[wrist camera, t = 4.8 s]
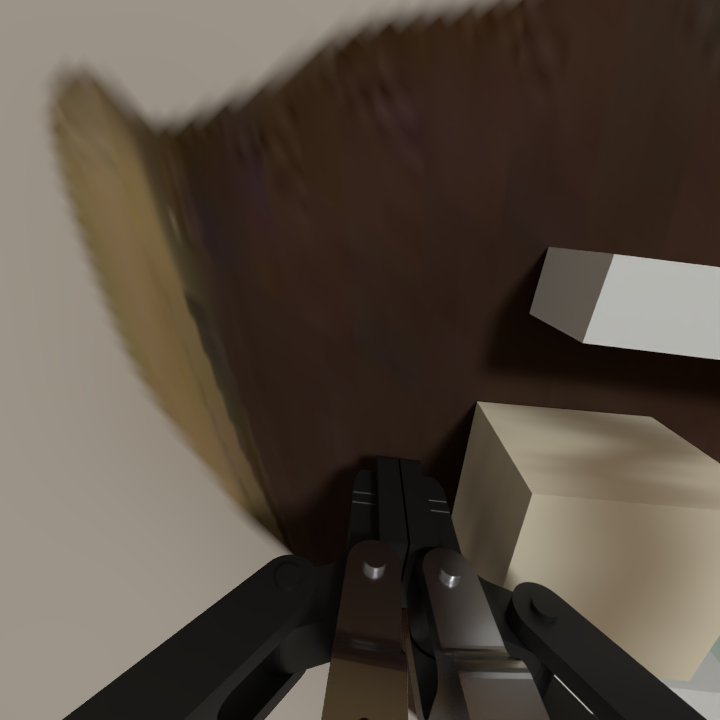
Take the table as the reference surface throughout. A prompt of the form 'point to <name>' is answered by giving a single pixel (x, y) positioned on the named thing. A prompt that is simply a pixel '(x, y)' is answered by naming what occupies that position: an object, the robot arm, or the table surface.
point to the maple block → (599, 524)
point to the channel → (639, 348)
